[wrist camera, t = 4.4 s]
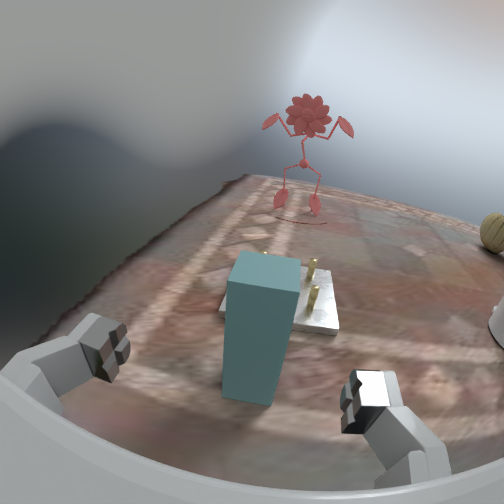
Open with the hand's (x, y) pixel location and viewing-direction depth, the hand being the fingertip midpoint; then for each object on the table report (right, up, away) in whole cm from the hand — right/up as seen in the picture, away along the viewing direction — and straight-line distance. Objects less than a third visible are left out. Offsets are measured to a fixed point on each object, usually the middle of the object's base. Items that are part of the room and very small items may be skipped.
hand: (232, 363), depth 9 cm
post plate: (+5, -3, +34) cm, 35 cm away
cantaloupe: (+90, +4, +67) cm, 113 cm away
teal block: (0, -10, +18) cm, 21 cm away
